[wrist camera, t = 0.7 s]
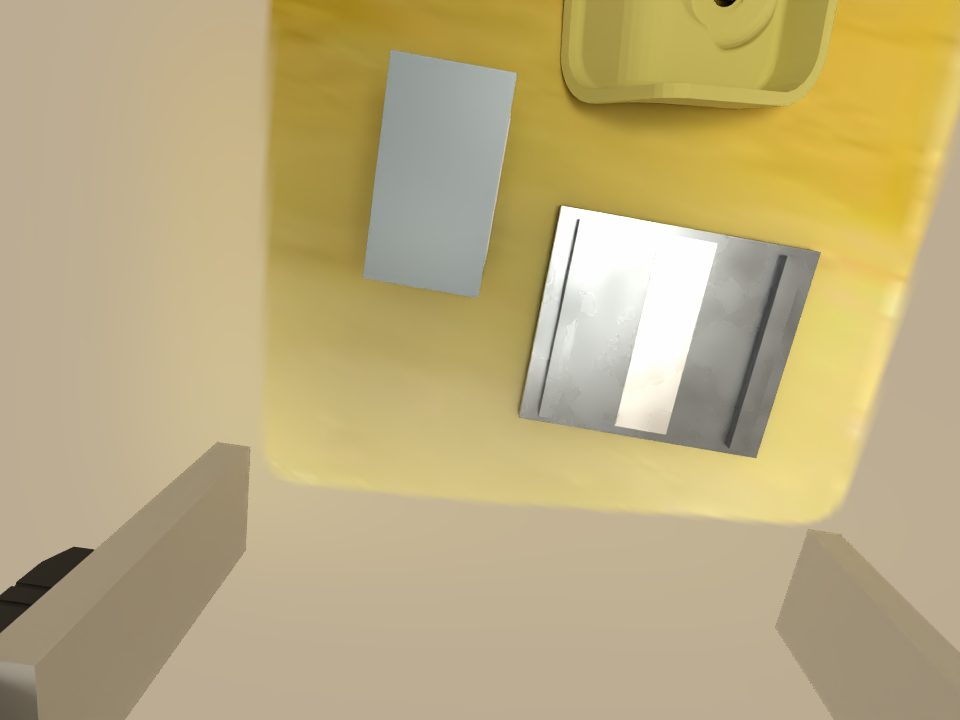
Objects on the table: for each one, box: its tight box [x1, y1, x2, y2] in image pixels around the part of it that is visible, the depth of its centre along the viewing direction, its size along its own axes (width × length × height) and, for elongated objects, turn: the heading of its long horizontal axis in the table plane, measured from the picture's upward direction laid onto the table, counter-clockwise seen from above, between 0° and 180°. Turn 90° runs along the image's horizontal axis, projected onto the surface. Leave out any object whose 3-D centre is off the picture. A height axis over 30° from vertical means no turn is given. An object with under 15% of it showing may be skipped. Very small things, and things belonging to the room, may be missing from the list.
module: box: [363, 50, 517, 298], centre depth 28 cm, size 9×5×8 cm, turn 170°
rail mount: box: [519, 206, 821, 458], centre depth 33 cm, size 12×14×2 cm
